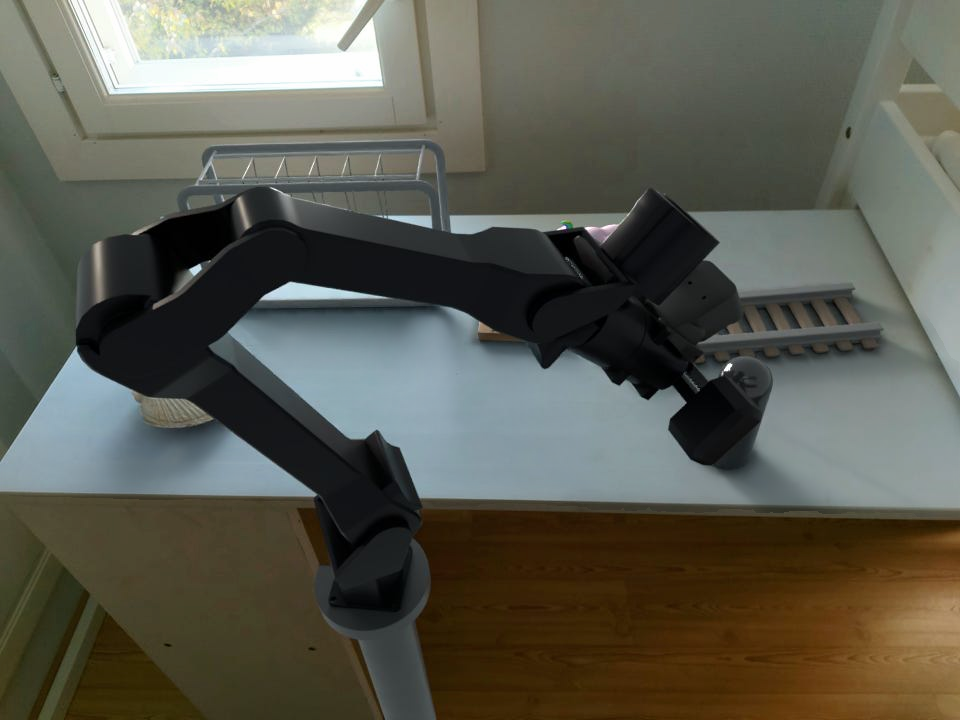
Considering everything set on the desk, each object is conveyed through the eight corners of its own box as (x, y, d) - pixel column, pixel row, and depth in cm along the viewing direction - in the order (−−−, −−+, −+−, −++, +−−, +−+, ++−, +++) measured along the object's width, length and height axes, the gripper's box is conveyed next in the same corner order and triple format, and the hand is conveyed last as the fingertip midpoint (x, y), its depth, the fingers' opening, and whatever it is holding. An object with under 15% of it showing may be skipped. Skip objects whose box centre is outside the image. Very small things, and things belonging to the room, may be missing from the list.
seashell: (259, 415, 83) (253, 397, 81) (150, 454, 79) (140, 436, 77) (235, 352, 90) (229, 334, 88) (135, 385, 87) (125, 367, 85)
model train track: (883, 349, 86) (889, 336, 84) (611, 372, 85) (612, 359, 83) (841, 288, 94) (846, 275, 92) (593, 308, 93) (594, 295, 92)
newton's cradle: (215, 310, 96) (169, 189, 84) (237, 261, 104) (198, 143, 91) (448, 307, 94) (437, 182, 82) (453, 258, 102) (443, 137, 90)
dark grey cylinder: (753, 471, 74) (782, 383, 66) (703, 468, 75) (726, 380, 66) (746, 434, 78) (773, 346, 69) (698, 431, 78) (719, 343, 69)
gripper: (767, 331, 49) (855, 397, 59) (627, 193, 62) (720, 267, 72) (648, 445, 53) (750, 489, 63) (539, 292, 66) (639, 349, 76)
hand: (714, 390), depth 68 cm, fingers open, 9 cm apart
